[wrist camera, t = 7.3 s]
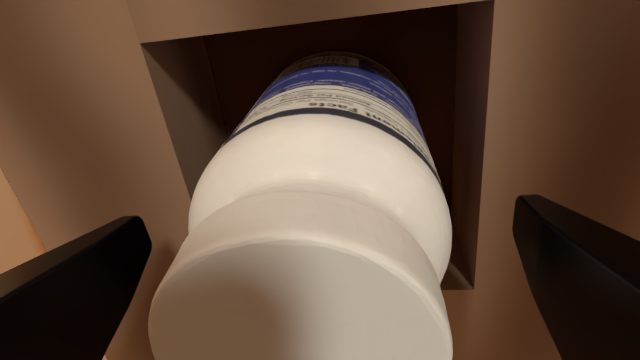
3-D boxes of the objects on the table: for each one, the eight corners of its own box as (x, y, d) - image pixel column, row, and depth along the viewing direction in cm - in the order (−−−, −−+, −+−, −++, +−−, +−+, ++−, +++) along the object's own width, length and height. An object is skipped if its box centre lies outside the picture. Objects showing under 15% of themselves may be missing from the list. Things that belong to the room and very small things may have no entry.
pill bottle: (354, 217, 16) (339, 501, 8) (235, 143, 15) (63, 374, 7) (450, 109, 14) (588, 352, 5) (314, 10, 13) (203, 109, 4)
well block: (731, -280, 9) (963, -435, 5) (585, 303, 17) (640, 389, 14) (-22, -122, 12) (-182, -157, 9) (161, 309, 20) (119, 380, 17)
